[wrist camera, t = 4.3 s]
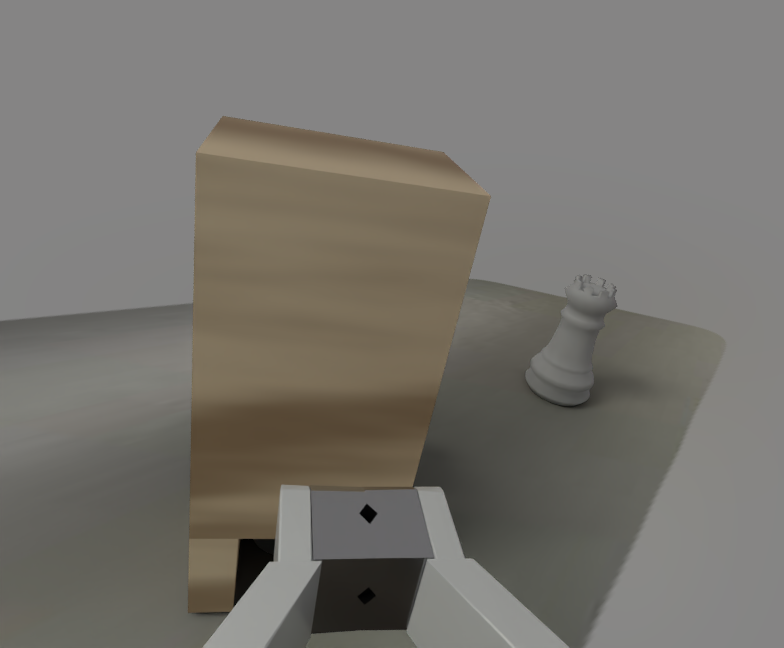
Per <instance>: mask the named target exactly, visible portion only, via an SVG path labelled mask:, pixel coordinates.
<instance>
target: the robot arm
mask: <svg viewBox="0 0 784 648" xmlns="http://www.w3.org/2000/svg"><path fill="white" fill-rule="evenodd" d="M356 630H407V631H406V632H407V634H408V635H409V637H410V638H411V639H412V641H413V642H414V643H415V645H416V646H417V648H570V647H568V646H567V645H566V644H565V643H564V642H563V641H562V640H561V639H560V638H559V637H558V636H557V635H555V634H554V633H553V632H552V631H551V630H550V629H549V628H548V627H547V626H546V625H545V624H544V623H542V622H541V621H540V620H539V619H538V618H537V617H536V616H535V615H534V614H533V613H532V612H531V611H529V610H528V609H527V608H526V607H525V606H524V605H523V604H522V603H521V602H520V601H519V600H518V599H516V598H515V597H514V596H513V595H512V594H511V593H510V592H509V591H508V590H507V589H506V588H505V587H504V586H502V585H501V584H500V583H499V582H498V581H497V580H496V579H495V578H494V577H493V576H492V575H491V574H489V573H488V572H487V571H486V570H485V569H484V568H483V567H482V566H481V565H480V564H479V563H478V562H476V561H475V560H474V559H473V558H465V556H464V553H463V549H462V546H461V543H460V540H459V537H458V534H457V531H456V528H455V525H454V522H453V518H452V515H451V512H450V509H449V506H448V503H447V500H446V497H445V494H444V491H443V490H442V488H441V487H414V488H413V487H346V486H319V485H310V486H301V485H281V488H280V496H279V506H278V516H277V526H276V537H275V549H274V562H269V563H268V564H267V565H266V567H265V568H264V569H263V571H262V572H261V573H260V574H259V576H258V577H257V578H256V580H255V581H254V582H253V583H252V585H251V586H250V587H249V589H248V590H247V591H246V592H245V594H244V595H243V596H242V598H241V599H240V600H239V601H238V603H237V604H236V605H235V607H234V608H233V609H232V610H231V612H230V613H229V614H228V616H227V617H226V618H225V619H224V621H223V622H222V623H221V625H220V626H219V627H218V628H217V630H216V631H215V632H214V634H213V635H212V636H211V637H210V639H209V640H208V641H207V643H206V644H205V645H204V646H203V648H305V646H306V645H307V643H308V641H309V639H310V637H311V634H316V633H329V632H343V631H356Z"/></svg>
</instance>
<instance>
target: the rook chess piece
mask: <svg viewBox="0 0 784 648" xmlns="http://www.w3.org/2000/svg"><path fill="white" fill-rule="evenodd" d="M591 278H592V277H591V275H583V278H582V276H579V275H578V276H576V278H575V281H574V283H573V284H572V285H570V286H568V287H567V288H566V289H565V293H566V296H567V299H568V304H567V306H566V308H564V309H563V310H561V316H562V318H561V321H560V324H559V326H558V328H557V330H556V332H555V334H554V335H553V337H552V339H551V341H550V342H549V344H548V345H547V346H545V347H544V348H543V349H542V352H539V353H537V354H536V355H535V356H534V357H533V358H532V359H531V361H530V368H529V369H528V370H526V374H525V378H526V380H527V383H528V385H529V387H530V388H531V390H532V391H533V392H534V393H535V394H537V395H538V396H539V397H541V398H542V399H544V400H546V401H548V402H550V403H554V404H557V405H561V406H575V405H578V404H581V403H583V402H585V401H587V399H588V398H589V397H590V391H589V390H590V389H591V387H592V386H593V385H594V375H593V372H592V369H593V365H592V363H591V360H592V353H593V349H594V345H595V341H596V338H597V335H598V333H599V330H601V329H602V328H603V327H605V324H604V321H603V319H604V316H605V315H606V314H607V313H608V312H610V311H612V310H613V309H615V308H616V307H617V303H616V300H615V297H614V296H615V293H616V291H617V290H616V289H615V288H616V287H615V286H614V285H613V284H608V286H607V289H606V288H604V287H603V286H604V284H605V281H606V280H604V279H601V278H598V280H597V282H596V284H594V283H590V281H591ZM581 280H582V281H581Z"/></svg>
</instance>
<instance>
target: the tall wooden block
mask: <svg viewBox="0 0 784 648" xmlns="http://www.w3.org/2000/svg"><path fill="white" fill-rule="evenodd" d="M195 181H196V182H195V237H194V238H195V240H194V294H193V295H194V296H193V352H192V410H191V468H190V526H189V583H188V613H199V612H231V610H232V609H233V606H234V597H235V587H236V578H237V569H238V559H239V550H240V541H241V539H275V537H276V526H277V516H278V506H279V496H280V488H281V485H301V486H310V485H319V486H346V487H413V484H414V480H415V476H416V473H417V469H418V465H419V461H420V458H421V454H422V450H423V447H424V443H425V439H426V435H427V432H428V428H429V424H430V421H431V417H432V413H433V409H434V406H435V402H436V398H437V395H438V391H439V387H440V383H441V380H442V376H443V372H444V369H445V365H446V361H447V357H448V354H449V350H450V346H451V343H452V339H453V335H454V331H455V328H456V324H457V320H458V317H459V313H460V309H461V305H462V302H463V298H464V294H465V291H466V287H467V283H468V279H469V276H470V272H471V268H472V265H473V261H474V257H475V253H476V249H477V246H478V242H479V238H480V235H481V231H482V227H483V224H484V220H485V216H486V213H487V209H488V205H489V202H490V198H491V196H490V195H489V194H488V193H487V192H486V191H485V190H484V189H483V188H482V187H481V186H479V185H478V184H477V183H476V182H475V181H474V180H473V179H472V178H471V177H470V176H469V175H468V174H466V173H465V172H464V171H463V170H462V169H461V168H460V167H459V166H458V165H457V164H455V163H454V162H453V161H452V160H451V159H450V158H449V157H448V156H447V155H446V154H445V153H444V152H440V151H433V150H427V149H421V148H415V147H409V146H402V145H397V144H391V143H385V142H379V141H372V140H366V139H360V138H354V137H348V136H341V135H336V134H330V133H324V132H317V131H311V130H305V129H299V128H293V127H287V126H281V125H275V124H268V123H262V122H256V121H250V120H244V119H238V118H231V117H226V116H223V117H222V118H221V119H220V121H219V122H218V123H217V125H216V126H215V127H214V129H213V130H212V131H211V133H210V134H209V136H208V137H207V138H206V140H205V141H204V142H203V144H202V145H201V146H200V148H199V149H198V150H197V152H196V179H195Z"/></svg>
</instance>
